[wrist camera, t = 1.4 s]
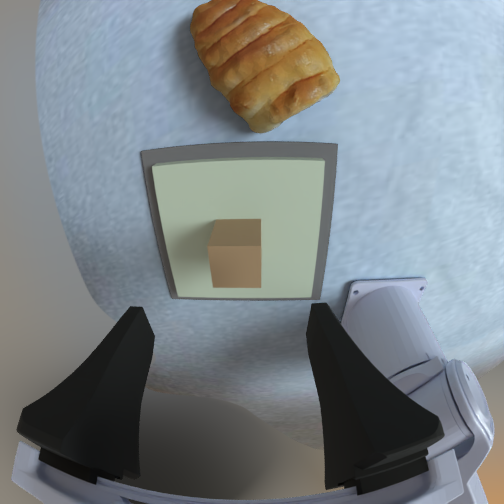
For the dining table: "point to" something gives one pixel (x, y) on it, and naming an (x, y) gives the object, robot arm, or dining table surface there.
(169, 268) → the mat
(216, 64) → the pastry
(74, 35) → the dining table surface
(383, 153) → the dining table surface
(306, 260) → the cover
